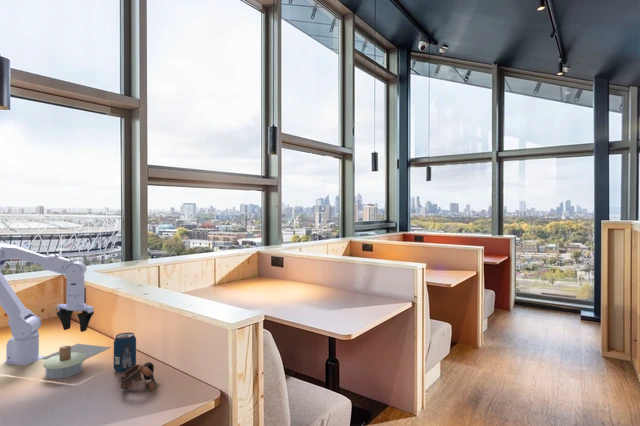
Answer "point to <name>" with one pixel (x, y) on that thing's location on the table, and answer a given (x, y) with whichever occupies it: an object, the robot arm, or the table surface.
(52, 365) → the lid
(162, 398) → the table surface
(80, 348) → the mat
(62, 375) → the bowl
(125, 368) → the soda can
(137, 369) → the brown lumpy object
